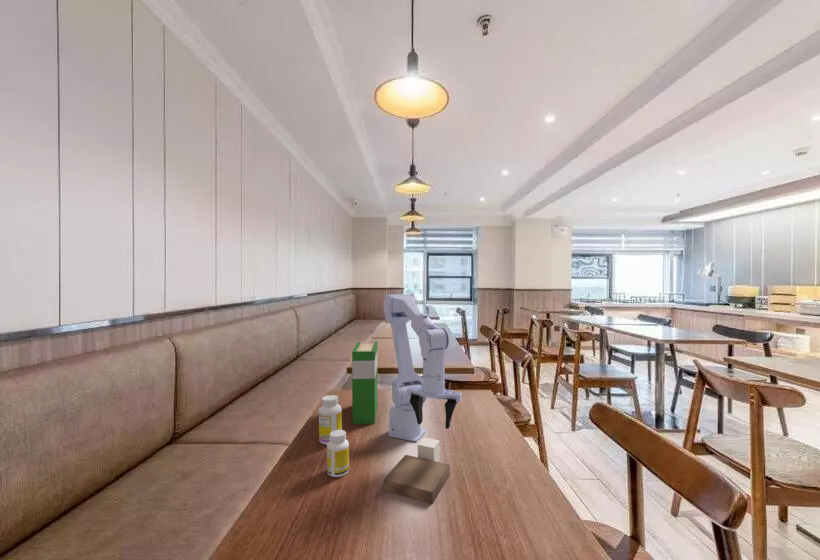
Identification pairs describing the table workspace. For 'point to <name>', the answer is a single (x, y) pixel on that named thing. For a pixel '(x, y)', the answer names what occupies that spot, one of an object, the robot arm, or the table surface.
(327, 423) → the supplement bottle
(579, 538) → the table surface
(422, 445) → the cream block
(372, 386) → the hardback book
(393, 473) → the walnut block
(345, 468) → the supplement bottle
